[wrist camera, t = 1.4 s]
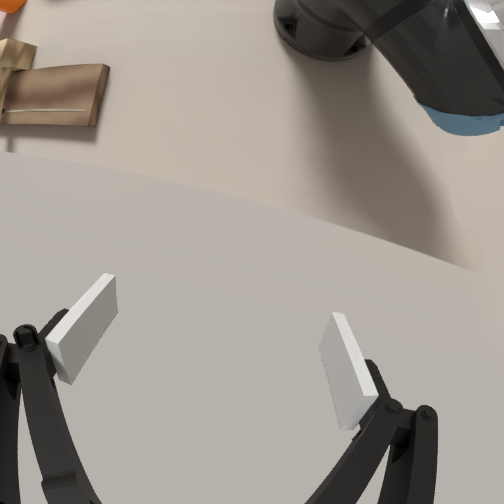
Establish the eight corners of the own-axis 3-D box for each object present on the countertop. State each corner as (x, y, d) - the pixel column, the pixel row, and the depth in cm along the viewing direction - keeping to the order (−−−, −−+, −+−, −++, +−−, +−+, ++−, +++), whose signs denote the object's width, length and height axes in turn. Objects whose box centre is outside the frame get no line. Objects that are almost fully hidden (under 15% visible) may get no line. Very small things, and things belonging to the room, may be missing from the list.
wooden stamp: (21, 50, 28) (-8, 43, 20) (37, 46, 29) (7, 37, 20) (4, 118, 33) (-27, 120, 25) (19, 118, 34) (-14, 119, 25)
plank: (4, 77, 30) (-4, 76, 27) (109, 66, 32) (102, 63, 30) (-6, 124, 33) (-14, 124, 31) (95, 126, 36) (87, 126, 34)
